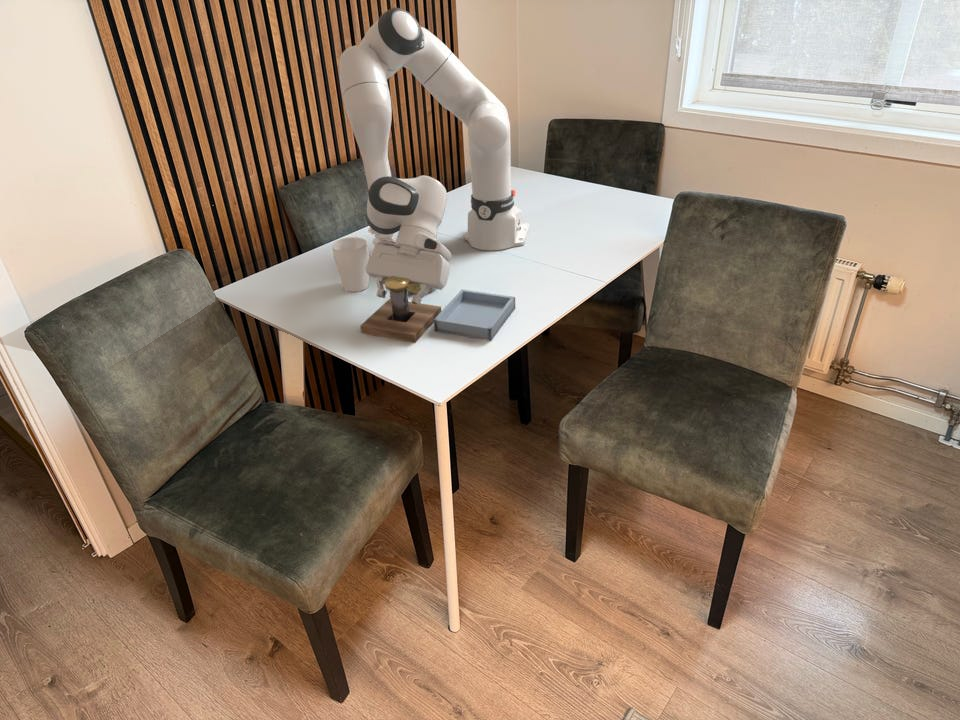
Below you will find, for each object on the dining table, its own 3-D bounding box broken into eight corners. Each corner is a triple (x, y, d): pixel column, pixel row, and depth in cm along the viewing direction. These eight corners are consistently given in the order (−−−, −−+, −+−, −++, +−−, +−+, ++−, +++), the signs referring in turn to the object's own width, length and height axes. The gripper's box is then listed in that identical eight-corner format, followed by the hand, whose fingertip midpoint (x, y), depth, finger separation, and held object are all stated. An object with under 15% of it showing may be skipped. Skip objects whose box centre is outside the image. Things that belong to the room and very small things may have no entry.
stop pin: (397, 316, 161) (392, 273, 155) (418, 319, 159) (413, 276, 153) (386, 327, 156) (380, 284, 150) (407, 330, 155) (402, 287, 148)
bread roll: (434, 278, 178) (433, 264, 176) (440, 292, 171) (439, 278, 169) (404, 282, 177) (402, 268, 175) (408, 297, 169) (406, 283, 167)
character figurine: (370, 265, 187) (364, 224, 180) (375, 251, 195) (369, 211, 188) (401, 264, 186) (396, 223, 180) (405, 250, 194) (400, 210, 188)
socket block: (390, 305, 165) (389, 298, 164) (441, 313, 161) (441, 306, 160) (361, 333, 155) (360, 325, 154) (415, 342, 150) (414, 334, 149)
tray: (462, 300, 166) (461, 289, 165) (515, 308, 161) (515, 297, 160) (434, 331, 154) (433, 319, 152) (491, 340, 149) (490, 328, 147)
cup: (336, 283, 178) (328, 240, 172) (369, 276, 180) (363, 234, 174) (342, 297, 171) (335, 253, 164) (377, 290, 173) (371, 247, 167)
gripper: (370, 233, 157) (353, 288, 155) (447, 245, 149) (430, 303, 147) (383, 244, 163) (366, 297, 161) (458, 255, 155) (441, 311, 153)
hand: (397, 300), depth 154 cm, fingers open, 8 cm apart
